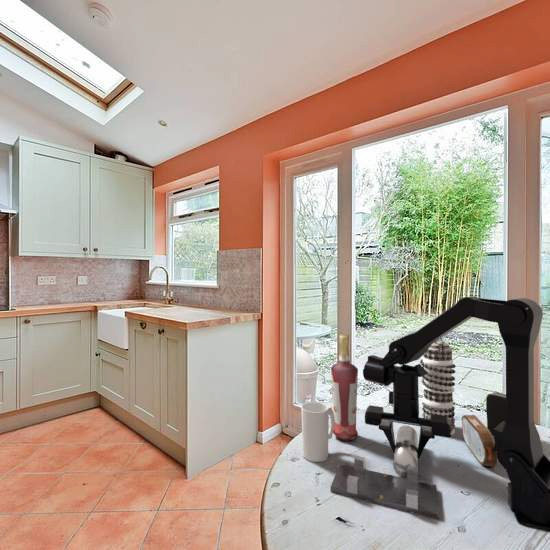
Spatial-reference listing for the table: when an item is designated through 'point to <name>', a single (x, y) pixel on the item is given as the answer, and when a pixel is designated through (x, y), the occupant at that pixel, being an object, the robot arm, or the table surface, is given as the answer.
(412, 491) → the cradle
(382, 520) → the table surface
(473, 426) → the tin
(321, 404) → the mug
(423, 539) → the table surface
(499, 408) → the battery charger
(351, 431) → the liquor
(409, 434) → the tube
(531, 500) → the robot arm
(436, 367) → the decorative candle
